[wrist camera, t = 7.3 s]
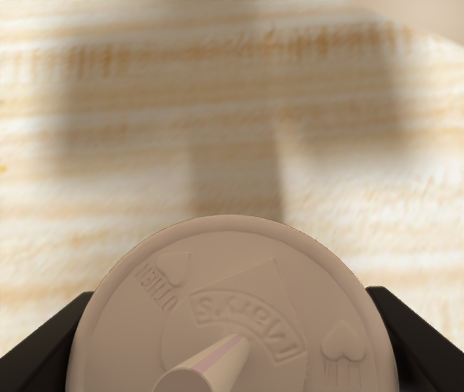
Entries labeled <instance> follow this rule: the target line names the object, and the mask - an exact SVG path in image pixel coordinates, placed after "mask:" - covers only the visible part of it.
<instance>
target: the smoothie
mask: <svg viewBox="0 0 464 392" xmlns="http://www.w3.org/2000/svg"><path fill="white" fill-rule="evenodd" d="M65 392H399V381H398V374H397V366H396V362H395V357H394V353H393V348H392V345H391V342H390V339H389V336H388V333H387V330H386V328H385V325H384V323H383V321H382V318H381V316H380V314H379V312H378V310H377V308H376V306H375V305H374V303H373V301H372V299H371V297H370V296H369V294H368V293H367V291H366V290H365V288H364V287H363V285H362V284H361V283H360V282H359V280H358V279H357V278H356V277H355V275H354V274H353V273H352V272H351V270H350V269H349V268H348V267H347V266H346V265H345V264H344V263H343V262H342V261H341V260H340V259H339V258H338V257H336V256H335V255H334V254H333V253H332V252H331V251H330V250H328V249H327V248H326V247H324V246H323V245H322V244H320V243H319V242H317V241H316V240H314V239H313V238H311V237H309V236H308V235H306V234H304V233H302V232H301V231H298V230H296V229H294V228H292V227H290V226H287V225H285V224H282V223H279V222H276V221H273V220H269V219H265V218H261V217H256V216H249V215H238V214H221V215H210V216H203V217H198V218H194V219H190V220H186V221H183V222H180V223H177V224H175V225H172V226H170V227H168V228H165V229H163V230H161V231H159V232H157V233H156V234H154V235H152V236H150V237H149V238H147V239H145V240H144V241H143V242H141V243H140V244H138V245H137V246H136V247H134V248H133V249H132V250H131V251H130V252H128V253H127V254H126V255H125V256H124V257H123V258H122V259H121V260H120V261H119V262H118V263H117V264H116V265H115V266H114V267H113V268H112V269H111V270H110V272H109V273H108V274H107V275H106V276H105V278H104V279H103V280H102V282H101V283H100V285H99V286H98V288H97V289H96V290H95V292H94V294H93V295H92V297H91V299H90V301H89V303H88V304H87V306H86V308H85V310H84V313H83V315H82V317H81V319H80V322H79V324H78V327H77V330H76V333H75V336H74V339H73V343H72V347H71V351H70V357H69V362H68V368H67V375H66V386H65Z"/></svg>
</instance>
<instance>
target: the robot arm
mask: <svg viewBox="0 0 464 392" xmlns="http://www.w3.org/2000/svg"><path fill="white" fill-rule="evenodd" d="M365 290H366V291H367V293H368V294H369V296H370V297H371V299H372V301H373V303H374V305H375V306H376V308H377V310H378V312H379V314H380V316H381V318H382V321H383V323H384V325H385V328H386V330H387V333H388V336H389V339H390V342H391V345H392V348H393V353H394V357H395V362H396V366H397V374H398V381H399V392H464V353H463V352H462V351H461V350H460V349H459V348H457V347H456V346H455V345H454V344H453V343H451V342H450V341H449V340H448V339H447V338H445V337H444V336H443V335H442V334H441V333H439V332H438V331H437V330H436V329H434V328H433V327H432V326H431V325H430V324H428V323H427V322H426V321H425V320H424V319H422V318H421V317H420V316H419V315H418V314H416V313H415V312H414V311H413V310H412V309H410V308H409V307H408V306H407V305H406V304H404V303H403V302H402V301H401V300H400V299H398V298H397V297H396V296H395V295H394V294H392V293H391V292H390V291H389V290H388V289H386V288H385V287H383V286H369V287H366V289H365ZM94 292H95V291H91V292H83V293H82V294H80V295H79V296H78V297H77V298H75V299H74V300H73V301H72V302H70V303H69V304H68V305H67V306H65V307H64V308H63V309H62V310H60V311H59V312H58V313H57V314H55V315H54V316H53V317H52V318H50V319H49V320H48V321H47V322H45V323H44V324H43V325H42V326H40V327H39V328H38V329H37V330H35V331H34V332H33V333H32V334H30V335H29V336H28V337H27V338H25V339H24V340H23V341H22V342H20V343H19V344H18V345H17V346H15V347H14V348H13V349H12V350H10V351H9V352H8V353H6V354H5V355H4V356H3V357H1V358H0V392H65V386H66V375H67V368H68V362H69V357H70V351H71V347H72V343H73V339H74V336H75V333H76V330H77V327H78V324H79V322H80V319H81V317H82V315H83V313H84V310H85V308H86V306H87V304H88V303H89V301H90V299H91V297H92V295H93V294H94Z"/></svg>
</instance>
